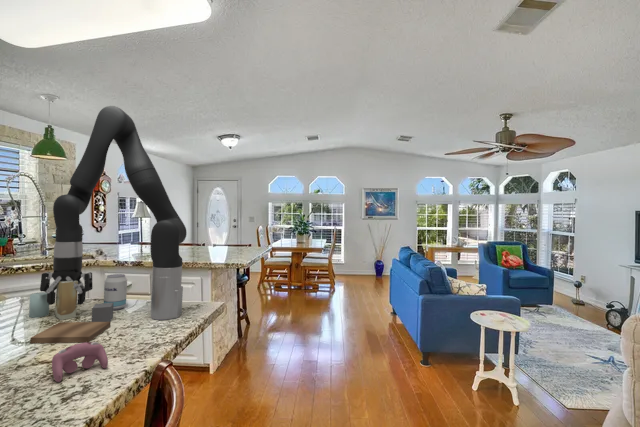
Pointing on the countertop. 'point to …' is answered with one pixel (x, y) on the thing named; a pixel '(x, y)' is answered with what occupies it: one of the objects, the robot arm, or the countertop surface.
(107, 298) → the beverage can
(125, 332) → the countertop surface
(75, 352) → the video game controller
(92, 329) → the wooden board
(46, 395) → the countertop surface
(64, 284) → the skincare box
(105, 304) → the rubber block
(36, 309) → the grey-green rounded block
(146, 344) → the countertop surface
